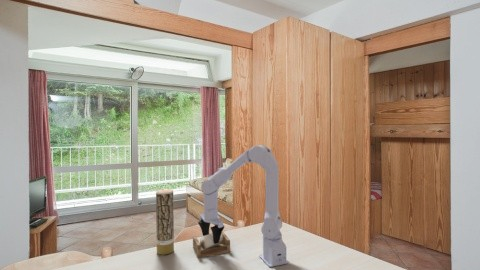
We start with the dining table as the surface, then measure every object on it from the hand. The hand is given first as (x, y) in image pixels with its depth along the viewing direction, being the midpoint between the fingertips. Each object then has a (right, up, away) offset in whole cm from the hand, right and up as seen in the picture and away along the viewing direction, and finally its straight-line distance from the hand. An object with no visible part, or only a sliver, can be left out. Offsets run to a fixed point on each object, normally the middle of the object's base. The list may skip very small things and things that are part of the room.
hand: (211, 240), depth 108 cm
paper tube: (-19, -4, -1) cm, 19 cm away
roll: (0, -2, 0) cm, 2 cm away
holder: (0, -4, 0) cm, 4 cm away
